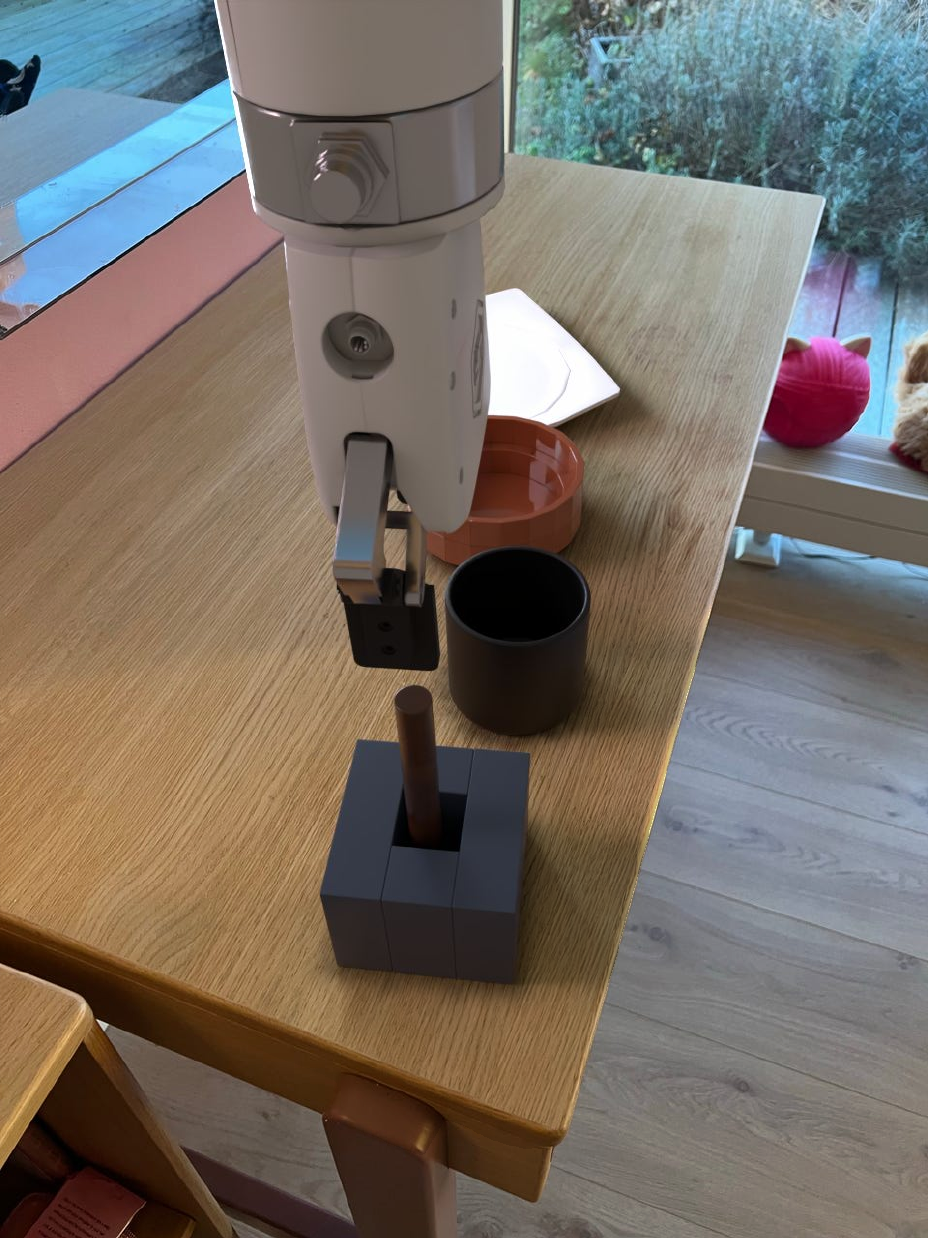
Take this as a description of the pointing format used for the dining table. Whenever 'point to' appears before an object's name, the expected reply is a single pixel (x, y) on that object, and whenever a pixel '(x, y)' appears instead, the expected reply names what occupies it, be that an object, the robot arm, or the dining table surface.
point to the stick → (419, 766)
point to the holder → (430, 867)
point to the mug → (517, 638)
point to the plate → (539, 364)
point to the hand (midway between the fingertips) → (417, 575)
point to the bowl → (519, 492)
